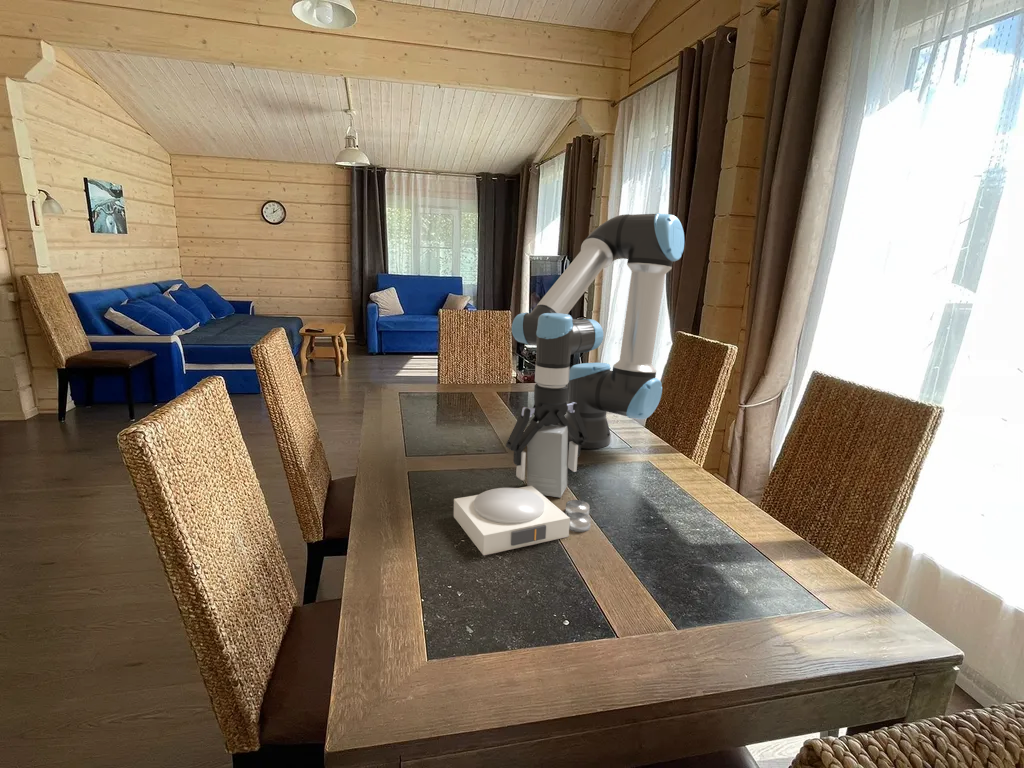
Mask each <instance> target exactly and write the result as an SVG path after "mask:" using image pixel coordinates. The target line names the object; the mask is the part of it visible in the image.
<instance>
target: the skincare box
mask: <svg viewBox="0 0 1024 768" xmlns="http://www.w3.org/2000/svg"><path fill="white" fill-rule="evenodd" d="M538 422H539V421H537V423H538ZM526 447H527V452H526V456H527V457H526V458H527V460H526V461H527V463H526V465H527V466H526V469H527V471H526V472H527V474H526V478H527V486H533V487H534V488H535V489H536V490H537V491H539V492H540V493H541V494H542V495H543V496H545V497H546V496H548V497H554V498H562V496H563V495H564V493H565V491H566V489H567V487H568V470H569V468H568V456H569V445H568V428H567V426H564V425H561V424H560V423H558V425H549V426H545V425H543V427H542V428H541V429H539V430H538V431H537V433H536V434H535V435H534V436H533V438H532V439H531V440H530V442H529V443H528V444H527V446H526ZM527 486H526V487H527Z"/></svg>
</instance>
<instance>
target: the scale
mask: <svg viewBox="0 0 1024 768" xmlns="http://www.w3.org/2000/svg"><path fill="white" fill-rule="evenodd" d="M453 518H454V519H455V521H456V522H457V523H458V525H460V526H461V528H462V529H463V531H464V532H465V534H466V535H467V536H468V537H469V540H471V542H472V543H473V544H474V545H475V547H477V549H478V550H479V551H480V554H482V556H488V555H492V554H496V553H501V552H506V551H509V550H514V549H519V548H523V547H528V546H533V545H537V544H541V543H542V544H543V543H546V542H550V541H551V542H552V541H554V540H559V539H563V538H564V539H565V538H568V537H570V530H569V524H570V518H569V517H568V516H567V514H566V512H564V511H563V510H561V509H560V508H559V507H558V506H556V505H555V504H554V503H553V502H552V501H550V499H548V498H547V497H546V495H542V494H541V493H540V492H539V491H537V490H536V489H535V488H534V487H533V486H522V487H498V488H492V489H488V490H485V491H482V492H481V493H479V494H475V495H469V496H463V497H456V498H453Z"/></svg>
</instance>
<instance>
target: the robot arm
mask: <svg viewBox="0 0 1024 768" xmlns="http://www.w3.org/2000/svg"><path fill="white" fill-rule="evenodd" d="M684 249H685V232H684V228H683V225H682V223H681V221H680V219H679V218H678V217H677V216H675V214H668V213H660V212H659V213H646V214H645V213H642V214H639V213H638V214H628V213H627V214H620V215H617V216H614V217H611V218H610V219H608V220H606V221H604V222H603V223H601V224H600V225H598V226H597V227H596V228H595V229H594V230H593V231H591V233H590V234H589V235H588V236H587V237H586V238H585V239H584V240H583V242H582V243H581V246H580V251H579V252H578V254H577V255H576V256H575V258H574V259H573V260H572V262H571V263H570V264H569V265H568V266H567V268H566V269H565V270H564V271H563V273H561V275H560V276H559V277H558V279H557V280H556V281H555V282H554V283H553V285H552V286H551V287H550V288H549V290H548V291H547V292H546V293H545V294H544V296H542V298H541V299H540V301H539V302H538V303H537V305H536V306H535V307H534V308H533V309H532V311H531V312H530V313H529V312H522V313H519V314H517V315H516V316H515V317H514V318H513V321H512V324H511V334H512V336H513V338H514V340H515V341H516V342H517V343H521V344H526V345H529V346H535V347H536V354H535V355H536V357H535V358H536V360H535V368H534V369H535V370H534V371H535V372H534V382H535V384H534V385H533V386H534V388H533V389H534V391H533V393H534V394H533V403H534V404H533V406H532V407H527V406H525V405H522V406H521V407H520V411H519V412H520V413H519V416H518V418H517V421H516V422H515V424H514V427H513V428H512V431H511V433H510V435H509V437H508V439H507V441H506V444H505V446H506V448H507V449H508V450H510V451H512V452H513V464H514V465H515V466H516V470H515V471H516V474H515V477H517V478H518V479H519V480H520V481H525V478H526V476H525V475H526V458H527V457H526V456H527V452H526V451H525V450H524V449H526V447H527V444H528V443H529V442H530V440H531V439H532V438H533V436H534V435H535V434H536V433H537V431H538V430H539V429H541V428H542V427H543V425H545V426H549V425H558V424H561V425H564V426H567V428H568V470H571V472H574V473H575V472H578V471H577V469H578V468H577V467H578V457H579V458H580V456H581V449H590V450H591V449H593V450H594V449H601V448H604V447H607V446H609V445H610V443H611V438H612V436H611V432H610V428H609V427H610V426H609V423H608V420H607V419H608V418H607V413H611V414H615V415H620V416H623V417H627V418H629V419H636V420H645V419H648V418H649V417H651V416H652V414H653V413H654V412H655V411H656V410H657V407H658V406H659V403H660V402H661V398H662V395H663V394H662V393H663V386H662V385H663V384H662V381H661V380H660V379H658V378H657V377H656V375H657V370H656V369H655V367H654V366H653V364H652V363H653V358H654V349H655V343H656V336H657V329H658V324H659V315H660V310H661V303H662V296H663V290H664V283H665V275H666V274H667V273H669V272H670V271H671V270H672V268H673V262H676V261H679V260H680V259H681V258H682V255H683V253H684ZM621 259H623V260H624V259H625V260H627V263H626V265H627V267H628V268H629V270H630V271H631V275H630V276H631V277H630V282H629V290H628V297H627V303H626V311H625V319H624V326H623V327H624V328H623V334H622V340H621V347H620V354H619V355H620V356H619V360H617V362H615V363H614V364H613V365H612V370H611V365H610V364H609V363H607V362H584V363H577V364H573V365H572V366H571V355H577V354H582V353H588V352H591V351H594V350H596V349H598V348H599V347H600V346H601V344H603V340H604V329H603V327H602V326H601V324H600V323H599V322H598V321H597V320H596V319H594V318H593V319H592V318H591V319H590V318H582V319H576V318H573V317H572V315H570V311H571V310H572V309H573V308H574V307H575V305H576V304H577V302H579V300H580V298H581V297H582V296H583V295H584V293H585V292H586V291H587V289H588V288H589V287H590V286H591V284H592V283H593V282H594V281H595V279H596V278H597V277H598V275H599V274H600V273H601V272H602V270H603V269H606V268H608V267H609V266H610V265H612V263H613V262H614V261H616V260H621ZM532 416H533V417H532ZM530 418H532V419H531V420H530ZM529 421H530V423H529ZM537 422H538V423H537Z"/></svg>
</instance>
